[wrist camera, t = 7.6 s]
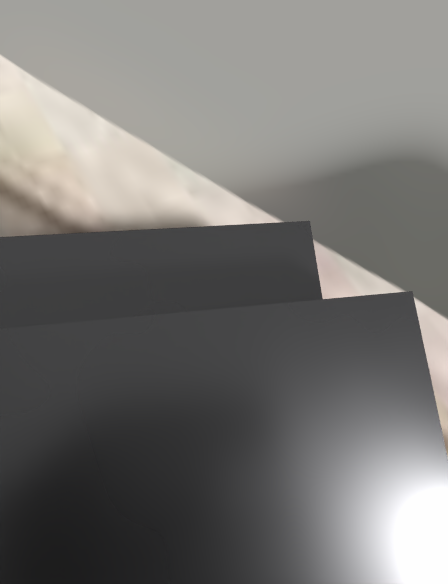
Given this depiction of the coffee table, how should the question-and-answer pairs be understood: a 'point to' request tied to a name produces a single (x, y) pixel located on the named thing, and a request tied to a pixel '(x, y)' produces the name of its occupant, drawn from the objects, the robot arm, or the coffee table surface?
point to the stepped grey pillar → (211, 416)
